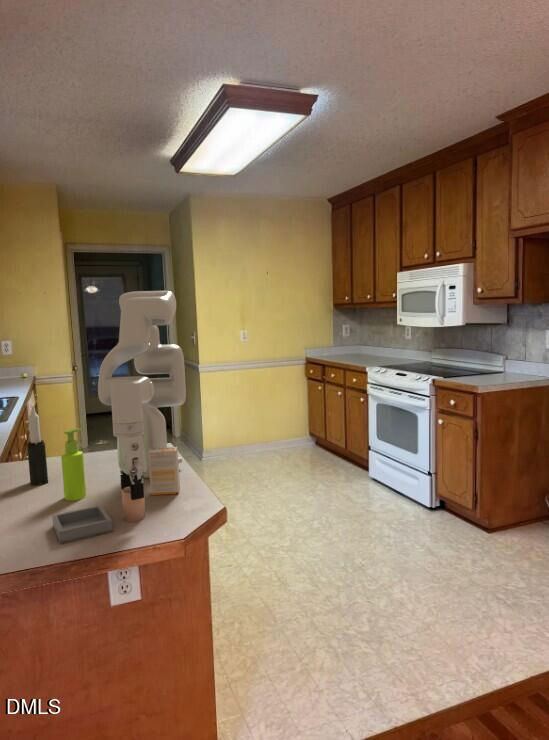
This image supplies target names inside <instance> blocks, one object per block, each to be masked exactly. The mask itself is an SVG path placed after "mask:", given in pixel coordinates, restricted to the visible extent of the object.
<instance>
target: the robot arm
mask: <svg viewBox="0 0 549 740" xmlns="http://www.w3.org/2000/svg"><path fill="white" fill-rule="evenodd" d="M175 296H176V295H174V293H173V292H172V291H169V290H146V291H144V290H141V291H140V290H137V291H130V292H129V291H128V292H124V293H123V294H121V295H120V296H119V300H118V303H119V304H118V305H119V307H120V308H119V309H120V321H119V322H120V323H119V324H120V325H119V332H118V333H119V335H118V343H117V344H116V345H115V346H114V347H113V348H112V349H111V350H110V351H108V353H107V354H106V356H105V357H104V359H103V361H102V363H101V364H100V367H99V375H98V383H97V393H98V394H97V395H98V399H99V401H100V402H101V403H102V404H104V405H105V406H111V414H112V415H111V418H112V431H113V433H112V435H113V436H114V437H116V441H117V444H116V445H117V447H116V449H117V461H118V467H119V469H120V470H119V473H120V488H121V491H122V490H123V489H124V488H126V487H130V492H131V499H132V500H136V499H141V498H144V499H145V488H144V487H145V486H144V479H150V477H149V463H148V451H149V450H150V449H151V448H168V441H167V440H168V439H167V438H168V437H167V423H166V418H165V416H164V414H163V413H162V411H160V410H159V409H158V408H164V407H165V408H166V407H167V408H168V407H178V406H182V405H184V404H185V402H186V399H187V391H186V390H187V389H186V388H187V387H186V386H187V385H186V371H185V357H184V352H183V349H182V347H181V346H179V345H177V344H169V343H168V344H161V341H160V330H159V327H158V326H167V325H170V324H171V323H172V322H173V318H174V316H175V314H176V312H177V300H176V297H175ZM132 359H133V363H134V368H135V371H136V372H137V373H138V374H140V375H139V376H135V375H134V376H113V374H114V372H115V371H116V370H117V368H119V367H120V366H122V365H123V364H124V363H127V362H128V361H131V360H132ZM141 374H142V375H163V374H164V375H166V374H168V375H169V376H171V377H153V378H152V377H150V378H149V377H148V376H142V375H141ZM182 463H183V458H182V457H178V465H179V464H182Z"/></svg>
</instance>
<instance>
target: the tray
mask: <svg viewBox="0 0 549 740" xmlns="http://www.w3.org/2000/svg"><path fill="white" fill-rule="evenodd" d="M51 518H52V527H53V530H54V532H55V535H56V538H57V541H58V542H59V544H60V545H64V544H67V543H71V542H75V541H79V540H83V539H84V540H85V539H87V538H92V537H96V536H97V537H98V536H100V535H104V534H105V535H106V534H109V533H113V522H112V521H113V520H112V518H111V517H110V515H109V514H108V512H107V511H106V510H105V508H104V507H103V505H102V504H99V505H95V506H90V507H85V508H80V509H76V510H72V511H71V510H70V511H66V512H61V513H58V514H57V513H55V514H52V515H51Z"/></svg>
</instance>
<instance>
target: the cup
mask: <svg viewBox="0 0 549 740" xmlns="http://www.w3.org/2000/svg"><path fill="white" fill-rule="evenodd" d="M120 492H121V503H122V504H121V505H122V516H123V518H122V519H123V521H124V522H129V523H134V522H135V523H136V522H139V520H140V521H142V520H144V519H145V518H146V517H147V516H146V515H147V514H146V503H145V502H146V501H145V497H144V498H141V499H136V500H132V499H131V492H130V487H126V488H124V489H123V490H122V489H121V491H120ZM145 516H146V517H145ZM143 518H144V519H143Z"/></svg>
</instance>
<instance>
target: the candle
mask: <svg viewBox="0 0 549 740" xmlns="http://www.w3.org/2000/svg"><path fill="white" fill-rule="evenodd" d="M28 425H29V426H28V427H29V438H30V441H28V442H27V444H26V449H27V458H28V471H29V481H30V482H29V483H30V486H31V485H35V486H39V485H47V484H48V483H49V476H48V475H49V474H48V464H47V453H46V450H47V449H46V443H45V441H44V440H43V439H41V428H40V417H39V415H38V414H37V412H36V410H35V406H34V405H32V406H31V411H30V414H29V415H28Z"/></svg>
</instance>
